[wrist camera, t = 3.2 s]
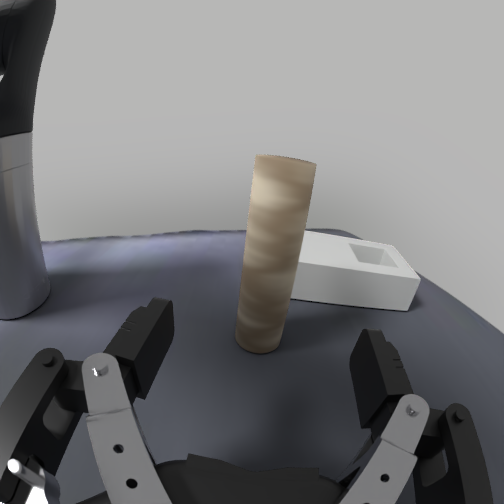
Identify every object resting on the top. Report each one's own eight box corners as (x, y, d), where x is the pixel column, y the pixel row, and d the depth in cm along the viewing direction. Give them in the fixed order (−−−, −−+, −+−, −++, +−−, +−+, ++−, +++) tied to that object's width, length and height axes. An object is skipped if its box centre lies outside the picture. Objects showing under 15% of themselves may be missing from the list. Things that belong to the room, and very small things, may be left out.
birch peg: (231, 349, 22) (252, 157, 15) (238, 320, 25) (258, 153, 19) (279, 356, 21) (320, 167, 15) (280, 326, 25) (312, 161, 19)
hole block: (263, 294, 30) (268, 257, 28) (267, 255, 39) (272, 225, 37) (407, 310, 29) (420, 279, 27) (383, 272, 38) (392, 245, 36)
